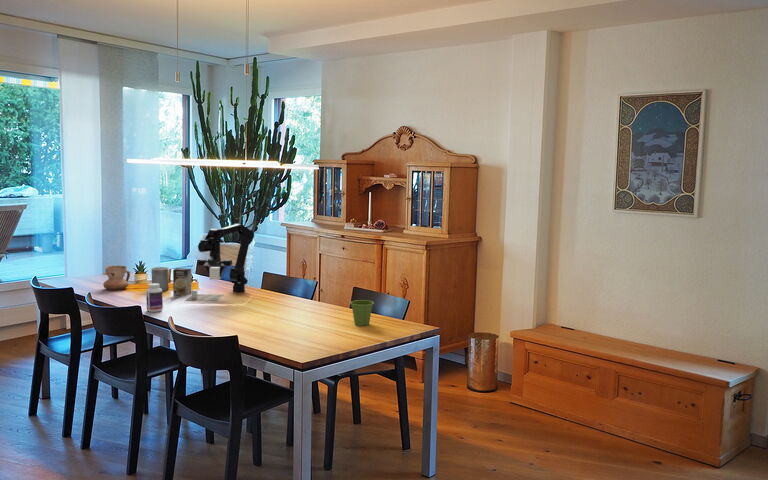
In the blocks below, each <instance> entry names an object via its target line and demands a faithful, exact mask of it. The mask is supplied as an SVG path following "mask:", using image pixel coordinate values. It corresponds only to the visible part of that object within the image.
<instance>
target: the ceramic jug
mask: <svg viewBox="0 0 768 480" xmlns="http://www.w3.org/2000/svg"><path fill="white" fill-rule="evenodd" d="M104 268H105V272H103V273H102V275H103V276H105V275H106V276H107V277H108V279H107V280H105V281H104V282H103V287H104V289H106V290H109V291H121V290H125V289H127V288H128V287H129V284H130V283H129V282H128V281H129V280H130V277H131V272H130V271H129V269H127V266H126V265H119V264H118V265H108V266H104ZM126 274H127V275H126ZM125 275H126V278H125V279H124V277H125ZM127 286H128V287H127ZM126 287H127V288H126ZM124 288H125V289H124Z"/></svg>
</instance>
